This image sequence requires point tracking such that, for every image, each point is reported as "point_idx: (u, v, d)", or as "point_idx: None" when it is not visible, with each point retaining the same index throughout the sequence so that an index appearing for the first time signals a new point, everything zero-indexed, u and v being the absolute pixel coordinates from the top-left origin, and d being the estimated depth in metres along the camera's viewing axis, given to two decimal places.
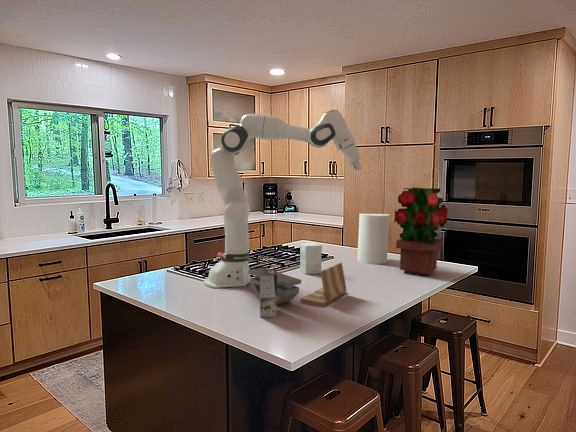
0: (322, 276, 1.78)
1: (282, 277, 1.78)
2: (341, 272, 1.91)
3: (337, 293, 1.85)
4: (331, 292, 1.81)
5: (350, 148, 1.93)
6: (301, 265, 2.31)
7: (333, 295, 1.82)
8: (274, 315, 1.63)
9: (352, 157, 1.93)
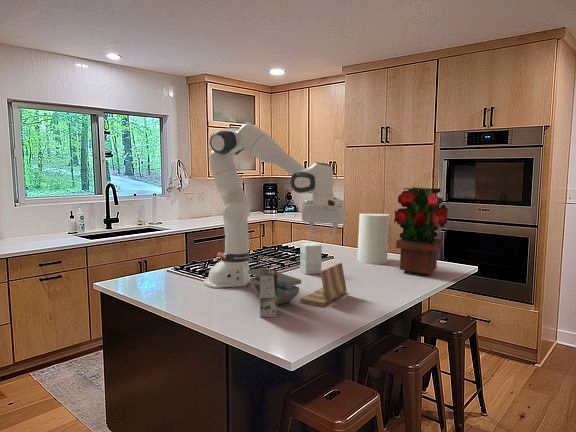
0: (322, 276, 1.78)
1: (282, 277, 1.78)
2: (341, 272, 1.91)
3: (337, 293, 1.85)
4: (331, 292, 1.81)
5: (341, 209, 1.81)
6: (301, 265, 2.31)
7: (333, 295, 1.82)
8: (274, 315, 1.63)
9: (342, 218, 1.80)
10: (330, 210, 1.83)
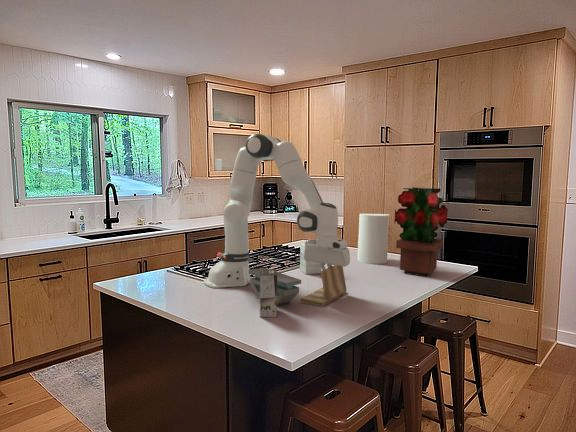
0: (322, 276, 1.78)
1: (282, 277, 1.78)
2: (341, 272, 1.91)
3: (337, 293, 1.85)
4: (331, 292, 1.80)
5: (346, 251, 1.81)
6: (301, 265, 2.31)
7: (333, 295, 1.82)
8: (274, 315, 1.63)
9: (346, 261, 1.80)
10: (334, 252, 1.82)
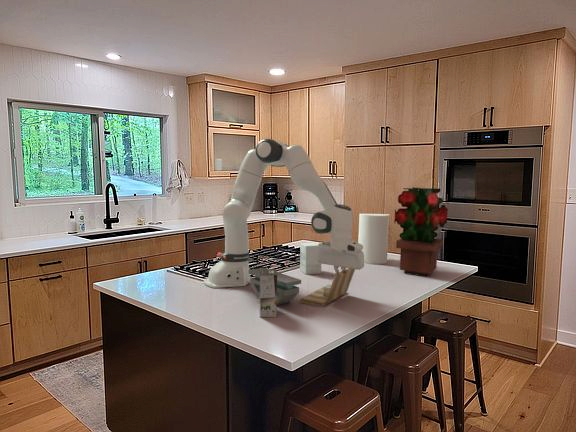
0: (334, 280, 1.75)
1: (282, 277, 1.78)
2: (351, 276, 1.89)
3: (338, 295, 1.85)
4: (334, 295, 1.80)
5: (361, 254, 1.77)
6: (301, 265, 2.31)
7: (334, 297, 1.81)
8: (274, 315, 1.63)
9: (361, 264, 1.77)
10: (348, 255, 1.79)
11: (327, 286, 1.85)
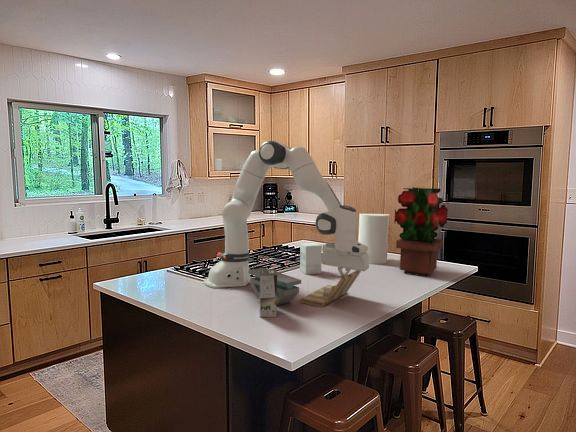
0: (339, 283, 1.74)
1: (282, 277, 1.78)
2: (354, 279, 1.88)
3: (338, 296, 1.85)
4: (335, 296, 1.80)
5: (366, 256, 1.76)
6: (301, 265, 2.31)
7: (334, 298, 1.81)
8: (274, 315, 1.63)
9: (366, 266, 1.76)
10: (353, 256, 1.78)
11: (327, 286, 1.85)
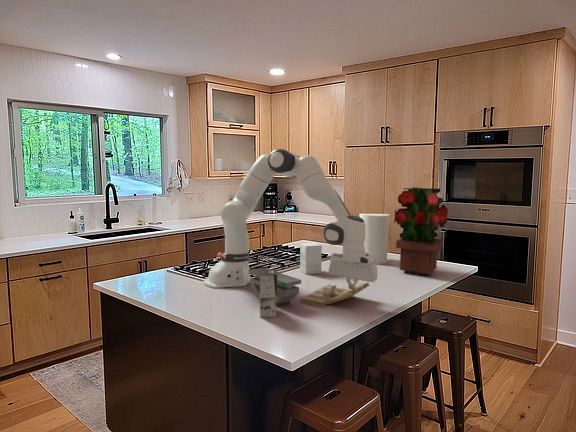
0: (347, 295, 1.73)
1: (282, 277, 1.78)
2: None
3: None
4: None
5: (374, 267, 1.75)
6: (301, 265, 2.31)
7: None
8: (274, 315, 1.63)
9: (374, 277, 1.74)
10: (361, 267, 1.77)
11: (327, 286, 1.85)
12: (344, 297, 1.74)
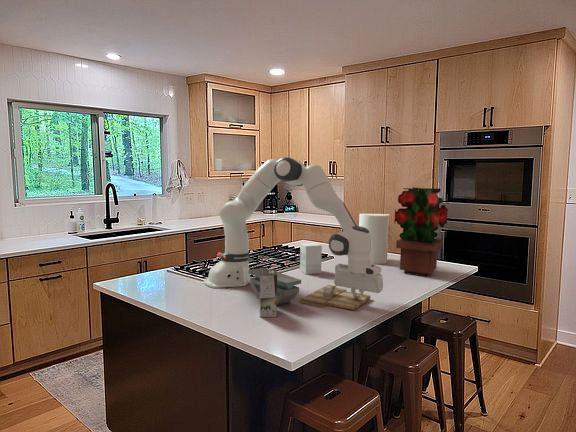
0: (348, 307, 1.73)
1: (282, 277, 1.78)
2: None
3: None
4: None
5: (380, 277, 1.74)
6: (301, 265, 2.31)
7: None
8: (274, 315, 1.63)
9: (380, 288, 1.74)
10: (366, 278, 1.76)
11: (327, 286, 1.85)
12: (345, 307, 1.74)
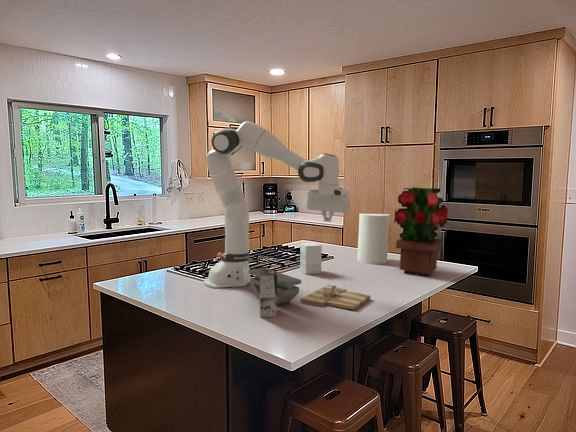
0: (348, 307, 1.73)
1: (282, 277, 1.78)
2: None
3: None
4: None
5: (347, 198, 1.91)
6: (301, 265, 2.31)
7: None
8: (274, 315, 1.63)
9: (347, 207, 1.90)
10: (335, 200, 1.93)
11: (327, 286, 1.85)
12: (345, 307, 1.74)
